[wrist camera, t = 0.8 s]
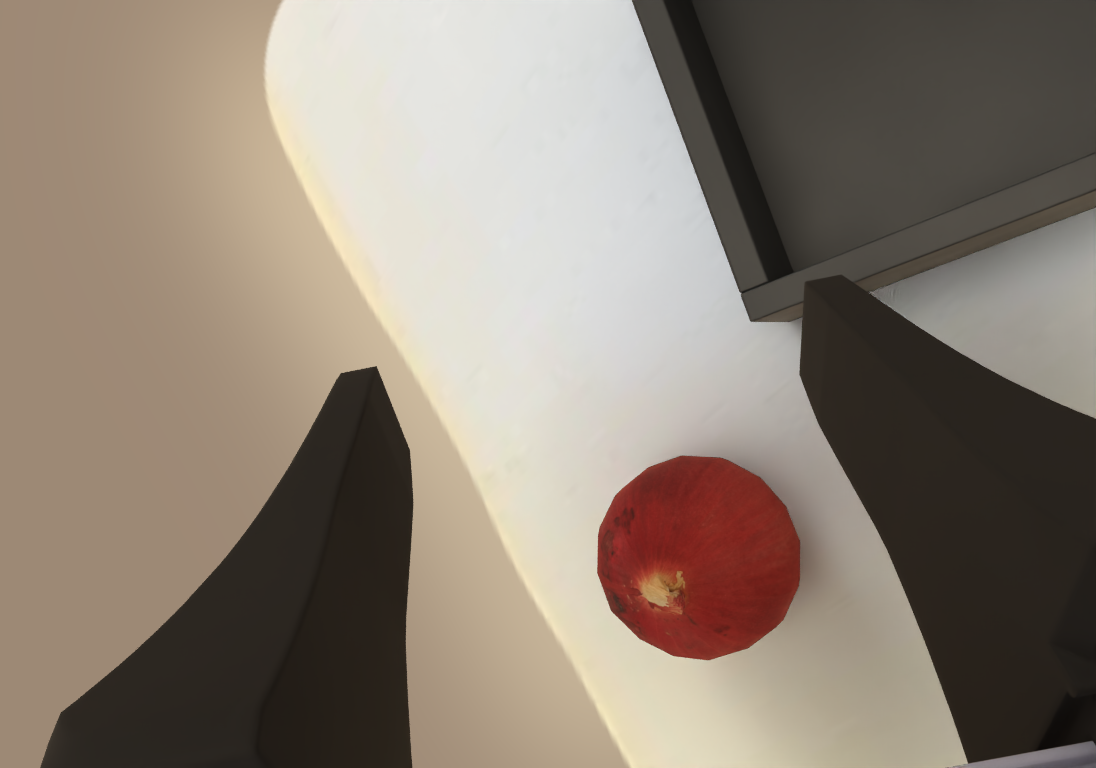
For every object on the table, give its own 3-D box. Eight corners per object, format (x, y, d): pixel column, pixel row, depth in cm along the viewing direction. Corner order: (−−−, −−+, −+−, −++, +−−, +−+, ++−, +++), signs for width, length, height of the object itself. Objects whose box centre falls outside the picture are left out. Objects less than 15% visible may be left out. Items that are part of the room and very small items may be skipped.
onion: (679, 630, 29) (591, 732, 22) (619, 473, 30) (513, 522, 22) (845, 587, 26) (807, 686, 19) (775, 416, 27) (713, 451, 20)
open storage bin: (1264, 144, 21) (1362, 89, 16) (787, 322, 27) (750, 322, 22) (1077, -288, 22) (1115, -465, 17) (654, -33, 28) (589, -112, 23)
